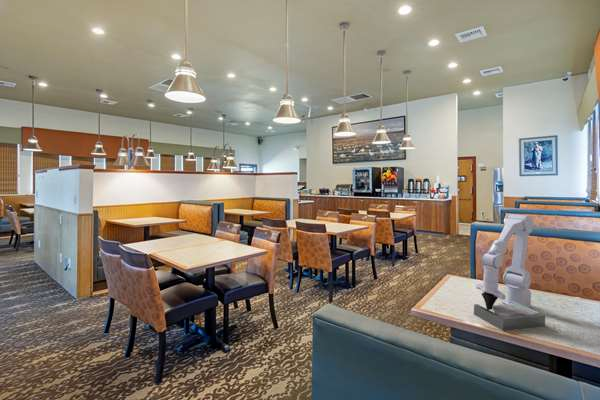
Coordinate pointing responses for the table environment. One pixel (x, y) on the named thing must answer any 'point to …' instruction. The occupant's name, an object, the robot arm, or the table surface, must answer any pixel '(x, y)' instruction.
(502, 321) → the frame
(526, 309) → the sliding jaw
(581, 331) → the table surface
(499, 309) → the stone block
